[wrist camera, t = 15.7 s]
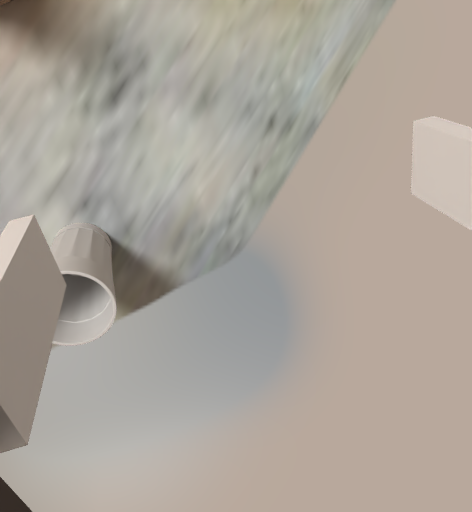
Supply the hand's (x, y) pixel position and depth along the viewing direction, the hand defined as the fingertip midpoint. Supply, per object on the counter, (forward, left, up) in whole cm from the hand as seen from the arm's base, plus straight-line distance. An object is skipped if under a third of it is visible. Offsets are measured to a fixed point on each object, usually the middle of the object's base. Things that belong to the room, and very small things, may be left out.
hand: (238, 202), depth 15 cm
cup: (+16, +12, -32) cm, 38 cm away
